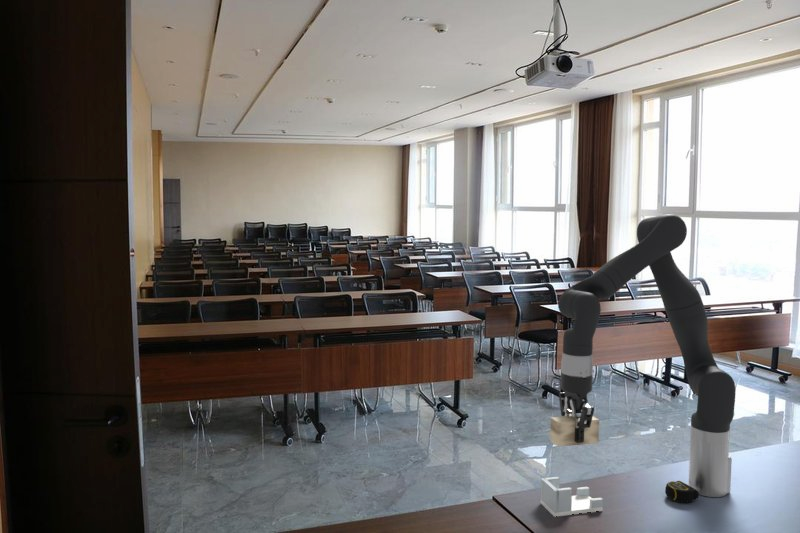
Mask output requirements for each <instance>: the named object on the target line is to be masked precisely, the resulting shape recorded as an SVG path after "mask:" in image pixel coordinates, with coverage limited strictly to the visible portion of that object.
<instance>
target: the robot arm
mask: <svg viewBox="0 0 800 533" xmlns="http://www.w3.org/2000/svg"><path fill="white" fill-rule="evenodd" d="M687 233H688V229H687V225H686V222H685V220H683V218H681V217H680V216H678V215H677V214H676V215H675V214H671V213H668V214H660V215H656V216H649V217H647V218H643V219H642V220H641V221H640V222H639V223H638V225H637V228H636V238H637V242H638V243H637V244H635V245H634V246H632V247H630V248H629V249H627V250H625V251H623V252H621V253H619V254H618V255H617V256H615V257H613V258H611V259H610V260H608V261H606V263H605V264H603V265H602V266H600V267H599V269H597V270H596V271H595V272H593V273H592V275H591V276H588V277H587V278H585V279H582V280H581V281H579V282H577V283H576V284H574V285H572V286H570V287H569V288H567V289H566V290H565V291H564V292H563V293H562V294H561V296H560V297H559V300H558V302H557V307H558V308H557V309H558V311H559V312H560V314H562V316H565V317H566V318H569V319H574V324H573V327H572V328H568V329H566V330H565V331H564V333H563V338H562V354H561V355H562V357H561V366H560V368H561V369H560V388H561V390H562V391H563V392H561V391H560V392H558V398H559V399H558V400H559V408H560V414H561V415H560V416H561V417H564V416H572V417H573V418H574V420H575V427H576V428H575V439H574V441H575V442H576V443H583V442H584V429H585V428H590V425H591V421H592V417H593V416H594V412H595V407H594V405H593V406H591V405H589V401H588V394H590V393H592V390H593V376H594V375H593V371H594V360H593V346H594V344H593V343H594V342H593V340H594V335H595V333H596V330H597V326H598V323H599V320H600V316H601V310H602V307H601V302H600V300H607V299H610V298H611V297H612V296H614V295H615V294H616V293H617V292H618V291H619V290H620V289H622V288H623V287H624V286H625V285H627V284H628V283H629V282H630V281H631V280H632V279H633V278H635V277H636V275H638V274H640V272H642V271H643V270H645V269H646V268H647V267H649V269H650V271H651V273H652V275H653V278H654V281H655V284H656V286H657V289H658V290H657V291H658V292H659V295H660V298H661V301H662V303H663V308H664V310H665V313H666V315H667V319H668V322H669V324H670V327H671V330H672V332H673V334H674V338H675V340H676V342H677V345H678V347H679V350H680V353H681V355H682V359H683V365H684V369H685V373H686V378H687V382H688V385H689V388H690V390H691V391H692V392H693V394H695V395H696V396H697V404H696V405H697V407H696V411H695V412H694V413H692V415H691V417H690V436H689V437H690V440H689V441H690V443H689V461H688V462H689V464H688V465H689V466H688V468H689V469H688V485H689V486H691V487H692V488H694V489H696V490H697V491H698V493H699V496H700V495H701V496H704V497H707V498H708V497H709V498H722V497H725V496H726V495H727V494H729V493H731V481H732V464H733V463H732V462H733V461H732V460H733V459H732V457H731V456H729V452H730V432H731V431H730V429H731V423H732V422H733V419H734V414H735V406H736V405H735V404H736V403H735V402H736V391H737V390H736V384H735V380H734V379H733V377H732V375H730V374H729V373H728V372H726V371H724V370H723V369H721V368H720V367H719V366H718V364H717V363H716V359H715V358H714V355H713V353H712V351H711V348H710V345H709V344H710V343H709V338H708V337H709V336H708V333H709V332H708V331H709V322H708V315H707V312H706V309H705V306H704V303H703V300H702V297H701V294H700V292H699V290H698V289H697V288H696V286H695V285H694V284H693V283H692V282H691V280H690V279H689V278H688V277H687V276H686V275H685V274H684V273H683V272H682V271H681V269H680V268H679V267H678V265H677V264H676V262H675V260H674V259H673V258H674V257H673V256H672V253H671V252H672V251H674V250H676V249H678V248H679V247H680V246H681V245H683V243H684V242H685V240H686V238H687ZM579 418H580V421H579V420H578V419H579ZM586 420H587V422H586Z"/></svg>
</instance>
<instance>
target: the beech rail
mask: <svg viewBox="0 0 800 533" xmlns="http://www.w3.org/2000/svg"><path fill="white" fill-rule="evenodd" d="M578 420H579V421H580V418H579V419H578ZM586 422H587V420H586ZM575 428H576V427H575V420H574V418H573V417H572V416H553V417H552V416H551V417H550V429H549V430H550V432H549V434H550V435H549V441H550V442H551V443H552V444H554V445H555V446H556V447H569V446H582V445H592V444H599V438H600V437H599V436H600V435H599V433H600V430H599V429H600V419H599V418H597V417H596V416H594V415H593V417H592V421H591V425H590V428H585V429H584V442H583V443H576V442H575V441H574V439H575Z"/></svg>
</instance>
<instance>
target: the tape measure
mask: <svg viewBox="0 0 800 533" xmlns="http://www.w3.org/2000/svg"><path fill="white" fill-rule="evenodd" d="M664 492H665V495H666V497H667V498H669V499H670V500H672V501H675V502H678V503H687V504H688V503H690V502H693V501H696V500H698V499H699V498H700V497H699V496H700V494H699V493H698V491H697V490H696V489H694V488H692V487H691V486H689V484H687V483H685V482H683V481H681V480H676V481H675V480H673V481H668V482H667V483H666V485H665V491H664Z"/></svg>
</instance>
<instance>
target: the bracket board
mask: <svg viewBox="0 0 800 533" xmlns="http://www.w3.org/2000/svg"><path fill="white" fill-rule="evenodd" d="M572 494H573V488H572V487H563V488H562V487H560V477H558V476H552V477H542V478H541V480H540V504H541V505H542V506H543V507H544V508H545V509H546V510H547V511H548V512H549V513H550V514H551V515H552V516H553V517H554V518H557V517H565V516H573V515H572V514H574V515H580V514H579V513H582V514H588V513H587V512H591V513H597V512H596V511H599V512H603V508H604V507H603V506H604V505H603V504H604V499H603V498H602V497H595V498H592V497H591V496H590V487H588V486H582V487H581V486H580V487H576V495H572ZM556 516H557V517H556Z"/></svg>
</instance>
